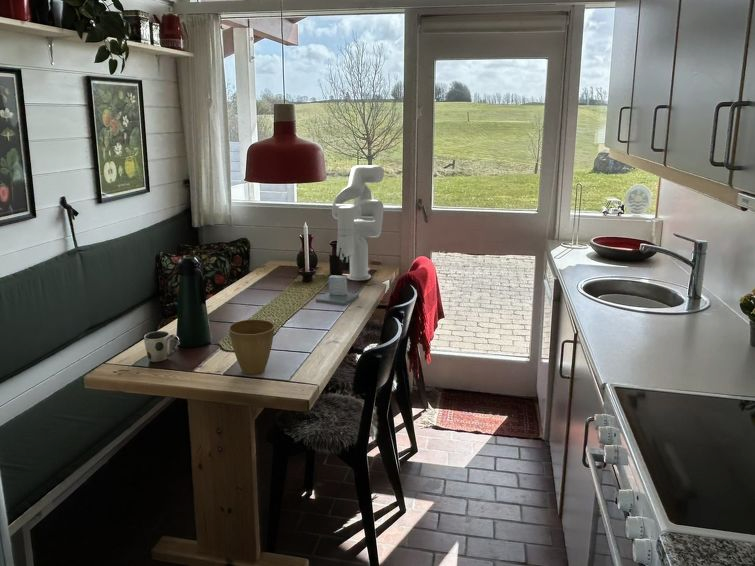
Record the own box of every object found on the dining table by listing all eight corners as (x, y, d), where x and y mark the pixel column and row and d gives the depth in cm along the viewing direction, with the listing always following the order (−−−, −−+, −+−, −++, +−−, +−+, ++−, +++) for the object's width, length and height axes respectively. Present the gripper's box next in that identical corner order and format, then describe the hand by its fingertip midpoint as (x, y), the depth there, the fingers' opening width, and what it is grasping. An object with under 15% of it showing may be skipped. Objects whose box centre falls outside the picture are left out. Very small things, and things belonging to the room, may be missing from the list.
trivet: (330, 293, 302) (330, 290, 302) (358, 296, 297) (358, 294, 296) (315, 301, 289) (315, 299, 289) (344, 305, 283) (344, 302, 283)
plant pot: (224, 378, 206) (221, 332, 201) (241, 361, 220) (238, 318, 215) (268, 381, 203) (265, 335, 199) (281, 364, 217) (280, 320, 213)
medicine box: (347, 293, 298) (347, 275, 295) (345, 296, 293) (344, 278, 291) (331, 292, 299) (331, 275, 297) (328, 295, 295) (328, 277, 293)
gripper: (345, 229, 305) (345, 266, 309) (331, 234, 291) (331, 272, 296) (359, 230, 302) (359, 267, 306) (345, 235, 288) (346, 274, 293)
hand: (345, 270), depth 301 cm, fingers closed
